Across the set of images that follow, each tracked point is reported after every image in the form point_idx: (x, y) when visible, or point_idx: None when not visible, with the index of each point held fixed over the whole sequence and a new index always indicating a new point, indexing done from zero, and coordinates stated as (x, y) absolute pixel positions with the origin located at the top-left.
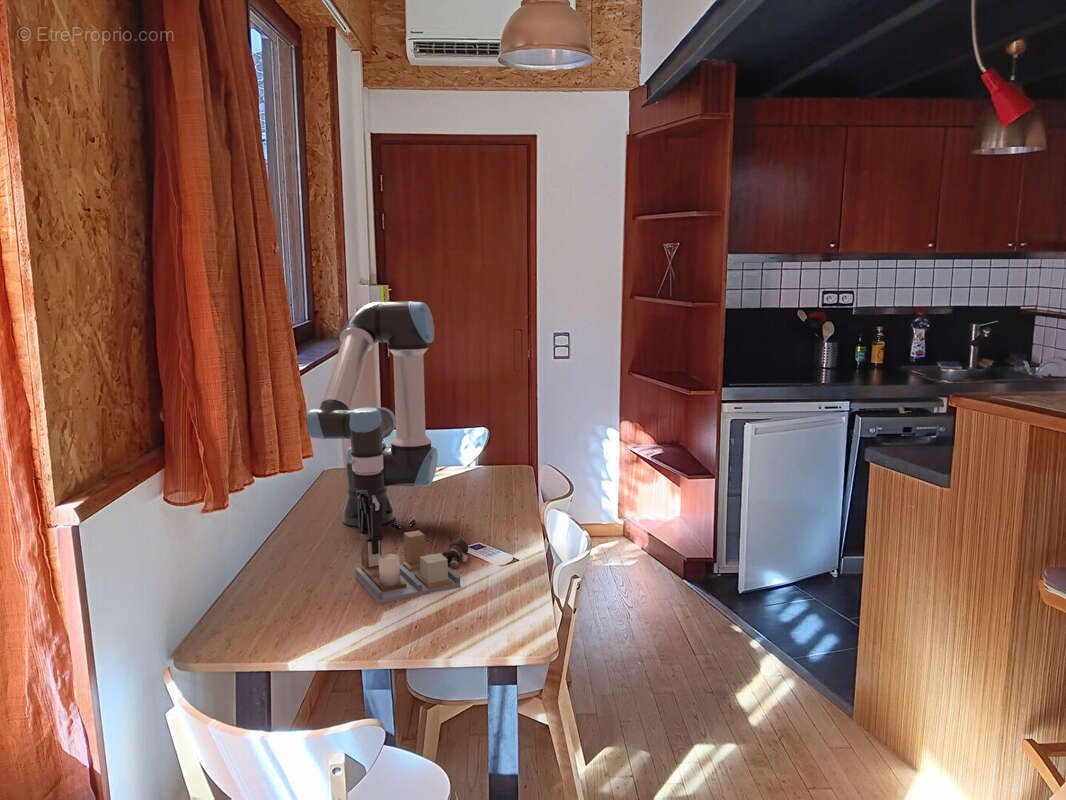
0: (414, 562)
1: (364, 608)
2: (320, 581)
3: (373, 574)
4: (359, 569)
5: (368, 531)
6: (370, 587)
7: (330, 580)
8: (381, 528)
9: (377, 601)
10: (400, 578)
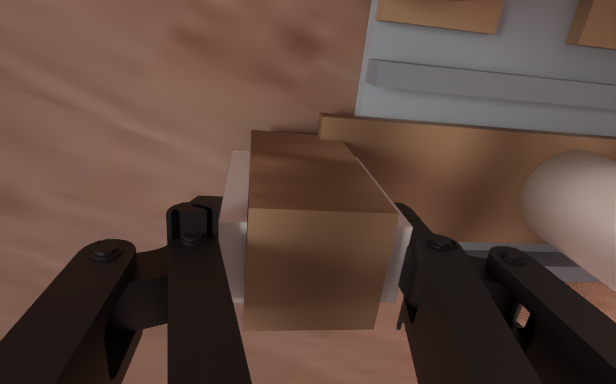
0: None
1: (593, 302)
2: (284, 359)
3: (437, 223)
4: None
5: (415, 360)
6: None
7: (296, 332)
8: (611, 329)
9: None
10: (570, 139)
